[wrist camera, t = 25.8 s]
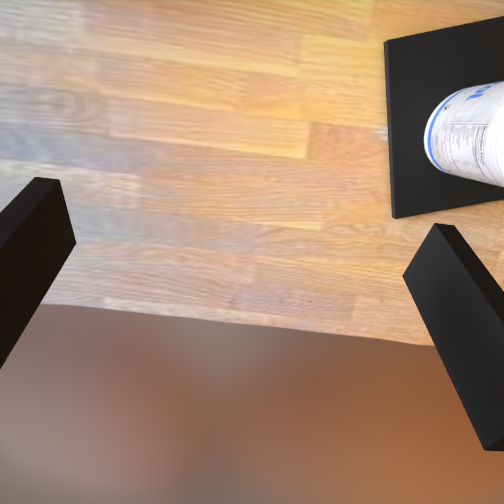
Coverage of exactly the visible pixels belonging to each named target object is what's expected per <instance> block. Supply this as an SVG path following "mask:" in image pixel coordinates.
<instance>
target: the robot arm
mask: <svg viewBox="0 0 504 504" xmlns="http://www.w3.org/2000/svg"><path fill="white" fill-rule="evenodd" d="M75 245H76V240H75V236H74V232H73V229H72V225H71V221H70V217H69V214H68V210H67V206H66V202H65V198H64V195H63V191H62V187H61V183H60V180H58V179H50V178H41V177H34V179H33V180H32V181H31V182H30V183H29V184H28V185H27V186H26V187H25V188H24V189H23V190H22V191H21V192H20V193H19V194H18V195H17V196H16V197H15V198H14V199H13V200H12V201H11V202H10V203H9V204H8V205H7V206H6V207H5V208H4V209H3V210H2V212H1V213H0V369H1V367H2V366H3V364H4V362H5V361H6V359H7V357H8V356H9V354H10V352H11V351H12V349H13V347H14V346H15V344H16V342H17V341H18V339H19V337H20V336H21V334H22V332H23V331H24V329H25V327H26V326H27V324H28V323H29V321H30V319H31V317H32V316H33V314H34V312H35V311H36V309H37V308H38V306H39V304H40V303H41V301H42V299H43V298H44V296H45V294H46V293H47V291H48V289H49V288H50V286H51V284H52V283H53V281H54V280H55V278H56V276H57V275H58V273H59V271H60V270H61V268H62V266H63V265H64V263H65V261H66V260H67V258H68V256H69V255H70V253H71V251H72V250H73V248H74V246H75ZM403 278H404V280H405V283H406V285H407V287H408V289H409V291H410V293H411V295H412V297H413V300H414V302H415V304H416V306H417V308H418V310H419V312H420V315H421V317H422V319H423V321H424V323H425V325H426V327H427V329H428V332H429V334H430V336H431V338H432V340H433V342H434V344H435V346H436V349H437V350H438V353H439V355H440V357H441V359H442V361H443V364H444V366H445V368H446V370H447V372H448V374H449V376H450V378H451V381H452V383H453V385H454V387H455V389H456V391H457V393H458V395H459V398H460V400H461V402H462V404H463V406H464V408H465V410H466V413H467V415H468V417H469V418H470V421H471V423H472V425H473V427H474V430H475V432H476V434H477V436H478V438H479V440H480V442H481V444H482V447H483V449H484V450H487V451H504V291H503V290H502V289H501V287H500V286H499V285H498V283H497V282H496V281H495V279H494V278H493V277H492V275H491V274H490V273H489V271H488V270H487V269H486V267H485V266H484V265H483V263H482V262H481V261H480V259H479V258H478V257H477V255H476V254H475V253H474V251H473V250H472V249H471V247H470V246H469V245H468V243H467V242H466V240H465V239H464V238H463V236H462V235H461V234H460V232H459V231H458V230H457V228H456V227H455V226H454V225H447V224H438V223H434V225H433V226H432V228H431V230H430V231H429V233H428V235H427V236H426V238H425V239H424V241H423V243H422V244H421V246H420V248H419V249H418V251H417V253H416V254H415V256H414V258H413V259H412V261H411V262H410V264H409V266H408V267H407V269H406V271H405V272H404V274H403Z"/></svg>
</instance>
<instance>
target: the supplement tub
mask: <svg viewBox="0 0 504 504" xmlns="http://www.w3.org/2000/svg"><path fill="white" fill-rule="evenodd" d="M424 146H425V151H426V154H427V156H428V158H429V160H430V161H431V162H432V164H433V165H434V166H435V167H436V168H438V169H439V170H441V171H443V172H445V173H448V174H452V175H456V176H460V177H464V178H468V179H472V180H476V181H480V182H485V183H489V184H493V185H497V186H501V187H504V81H502V82H496V83H491V84H485V85H480V86H474V87H469V88H465V89H462V90H459V91H457V92H455V93H453V94H452V95H450V96H449V97H447V98H446V99H445V100H444V101H442V102H441V103H440V104H439V105H438V106H437V108H436V109H435V110H434V111H433V113H432V115H431V116H430V118H429V120H428V123H427V126H426V129H425V134H424Z"/></svg>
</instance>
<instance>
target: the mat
mask: <svg viewBox="0 0 504 504" xmlns="http://www.w3.org/2000/svg"><path fill="white" fill-rule="evenodd" d="M384 55H385V76H386V98H387V119H388V140H389V161H390V183H391V204H392V217H393V218H394V219H398V218H403V217H409V216H414V215H420V214H425V213H431V212H436V211H442V210H447V209H453V208H458V207H463V206H469V205H474V204H480V203H485V202H491V201H496V200H502V199H504V187H501V186H497V185H493V184H489V183H485V182H480V181H476V180H472V179H468V178H464V177H460V176H456V175H452V174H448V173H445V172H443V171H441V170H439V169H438V168H436V167H435V166H434V165H433V164H432V162H431V161H430V160H429V158H428V156H427V154H426V151H425V146H424V134H425V129H426V126H427V123H428V120H429V118H430V116H431V115H432V113H433V111H434V110H435V109H436V108H437V106H438V105H439V104H440V103H441V102H442V101H444V100H445V99H446V98H447V97H449V96H450V95H452V94H453V93H455V92H457V91H459V90H462V89H465V88H469V87H474V86H480V85H485V84H491V83H496V82H502V81H504V16H502V17H497V18H492V19H488V20H483V21H478V22H473V23H468V24H463V25H459V26H454V27H449V28H444V29H439V30H434V31H430V32H425V33H420V34H415V35H410V36H405V37H401V38H396V39H391V40H387V41H386V42H384Z"/></svg>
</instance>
